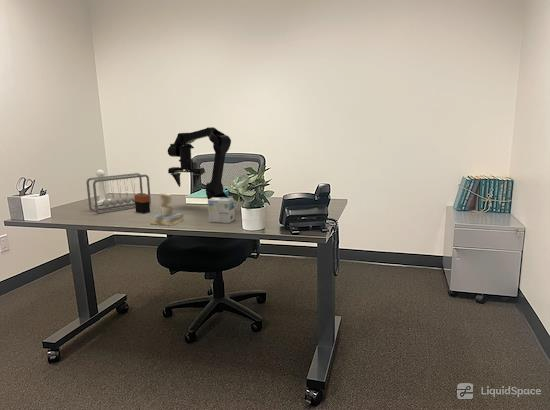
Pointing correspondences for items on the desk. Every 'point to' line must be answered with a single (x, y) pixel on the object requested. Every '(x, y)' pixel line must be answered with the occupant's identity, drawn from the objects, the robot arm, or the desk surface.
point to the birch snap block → (166, 205)
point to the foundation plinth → (167, 219)
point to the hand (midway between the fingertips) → (187, 186)
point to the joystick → (101, 188)
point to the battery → (142, 203)
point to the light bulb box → (221, 210)
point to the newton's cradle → (113, 201)
